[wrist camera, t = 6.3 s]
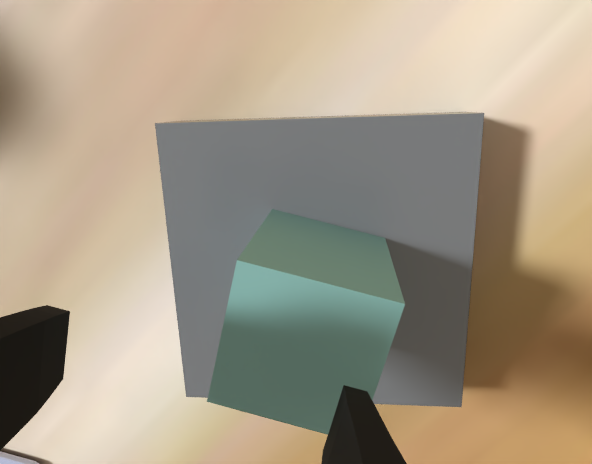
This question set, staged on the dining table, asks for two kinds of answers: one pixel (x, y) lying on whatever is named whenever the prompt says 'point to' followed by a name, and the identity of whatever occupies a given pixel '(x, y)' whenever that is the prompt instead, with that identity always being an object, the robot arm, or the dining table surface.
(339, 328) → the teal block
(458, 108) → the dining table surface
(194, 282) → the slate base
